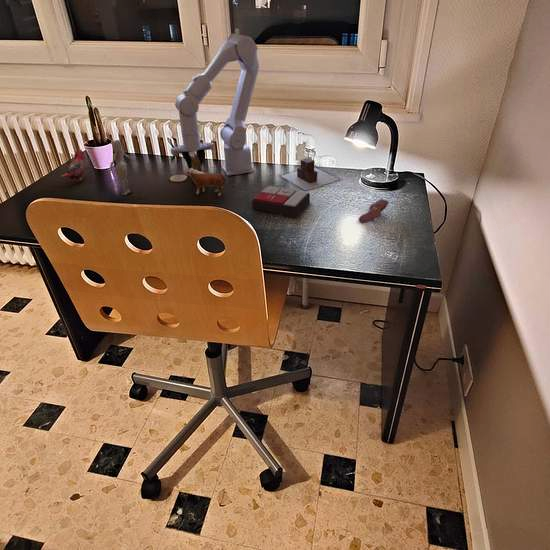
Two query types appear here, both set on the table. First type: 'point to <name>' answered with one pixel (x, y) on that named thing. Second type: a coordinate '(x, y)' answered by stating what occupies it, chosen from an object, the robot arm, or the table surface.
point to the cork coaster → (178, 178)
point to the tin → (195, 161)
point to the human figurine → (120, 164)
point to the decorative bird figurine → (76, 167)
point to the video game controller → (374, 211)
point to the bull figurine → (206, 180)
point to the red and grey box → (281, 201)
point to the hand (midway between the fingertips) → (195, 171)
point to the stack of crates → (309, 176)
